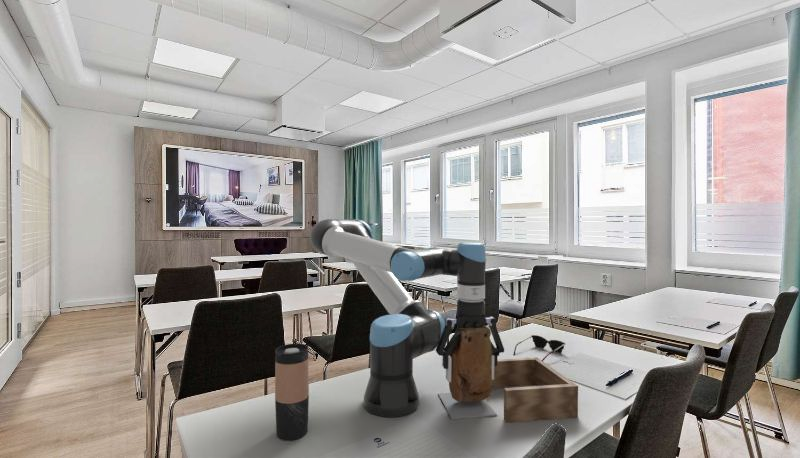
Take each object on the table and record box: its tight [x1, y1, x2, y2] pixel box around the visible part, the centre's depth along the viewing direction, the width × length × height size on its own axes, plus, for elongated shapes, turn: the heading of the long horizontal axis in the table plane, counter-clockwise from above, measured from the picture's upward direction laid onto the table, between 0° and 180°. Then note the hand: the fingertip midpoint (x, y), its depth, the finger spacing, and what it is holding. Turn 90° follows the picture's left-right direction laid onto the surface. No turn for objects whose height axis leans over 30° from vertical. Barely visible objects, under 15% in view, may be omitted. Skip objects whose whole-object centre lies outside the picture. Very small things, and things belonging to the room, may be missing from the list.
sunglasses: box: [513, 334, 566, 362], centre depth 146 cm, size 14×16×5 cm
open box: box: [491, 357, 579, 424], centre depth 108 cm, size 19×21×8 cm
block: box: [448, 324, 492, 402], centre depth 106 cm, size 11×8×20 cm
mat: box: [437, 392, 498, 420], centre depth 105 cm, size 12×14×1 cm
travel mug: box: [274, 343, 310, 442], centre depth 91 cm, size 8×8×20 cm
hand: (469, 378), depth 106 cm, fingers closed on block, 11 cm apart
